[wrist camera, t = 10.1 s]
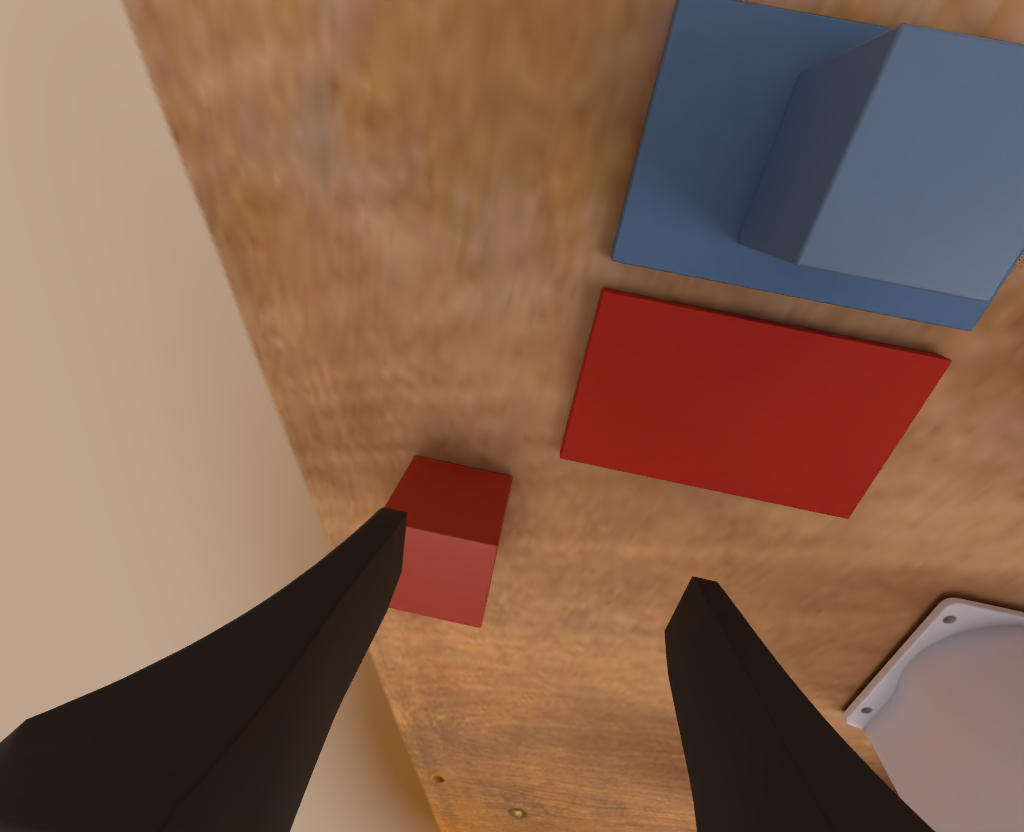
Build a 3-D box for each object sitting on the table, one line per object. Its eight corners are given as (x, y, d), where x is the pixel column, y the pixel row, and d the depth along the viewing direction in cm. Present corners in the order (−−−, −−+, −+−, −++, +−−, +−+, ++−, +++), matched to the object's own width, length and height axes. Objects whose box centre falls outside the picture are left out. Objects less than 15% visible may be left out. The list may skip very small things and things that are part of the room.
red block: (497, 550, 23) (480, 628, 19) (408, 530, 23) (372, 604, 19) (512, 475, 21) (498, 546, 17) (414, 455, 21) (376, 519, 17)
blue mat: (958, 327, 16) (972, 332, 15) (609, 258, 16) (611, 260, 15) (1119, 76, 12) (1143, 72, 12) (677, -3, 13) (681, -11, 12)
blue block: (876, 270, 15) (989, 303, 11) (735, 243, 15) (794, 265, 11) (964, 102, 13) (1147, 64, 9) (799, 71, 13) (903, 20, 9)
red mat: (841, 510, 19) (848, 519, 19) (559, 451, 20) (559, 458, 19) (941, 354, 16) (953, 360, 16) (602, 287, 16) (603, 290, 16)
